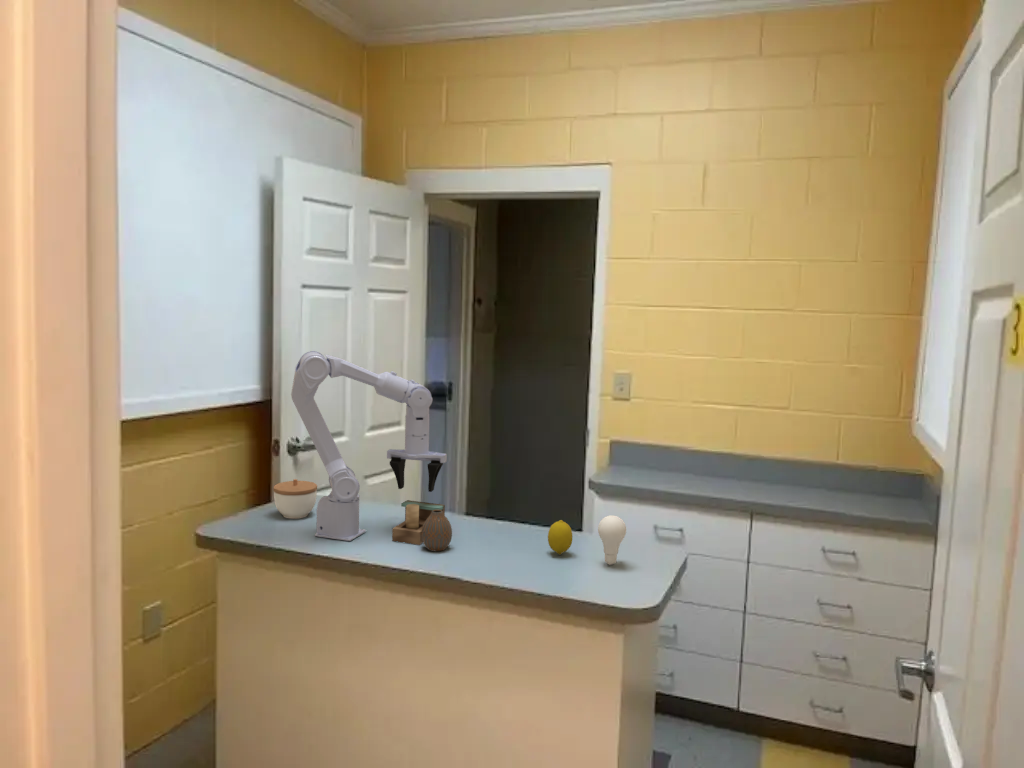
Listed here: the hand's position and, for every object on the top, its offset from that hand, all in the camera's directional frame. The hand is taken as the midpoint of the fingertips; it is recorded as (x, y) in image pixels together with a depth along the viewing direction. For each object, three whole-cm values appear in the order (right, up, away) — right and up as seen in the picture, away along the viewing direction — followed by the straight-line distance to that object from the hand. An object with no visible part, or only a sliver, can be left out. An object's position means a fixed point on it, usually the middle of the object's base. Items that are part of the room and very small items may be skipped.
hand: (416, 489), depth 188 cm
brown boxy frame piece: (0, -11, -3) cm, 11 cm away
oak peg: (0, -11, -5) cm, 12 cm away
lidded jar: (-32, -8, +10) cm, 35 cm away
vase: (+6, -12, -11) cm, 17 cm away
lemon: (+34, -13, -12) cm, 39 cm away
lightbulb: (+45, -14, -18) cm, 50 cm away
